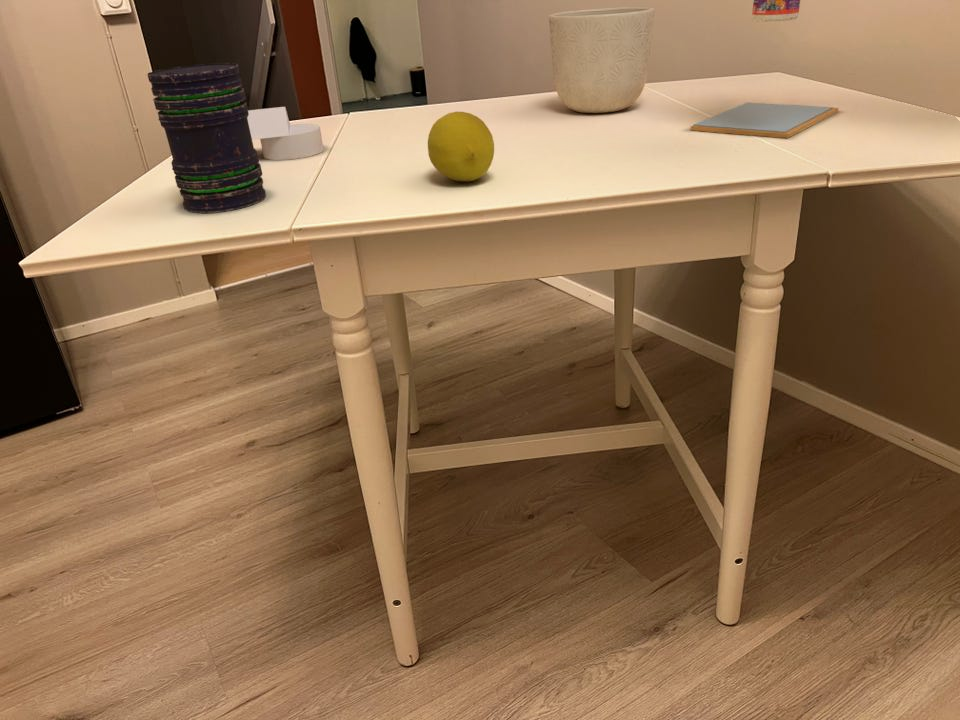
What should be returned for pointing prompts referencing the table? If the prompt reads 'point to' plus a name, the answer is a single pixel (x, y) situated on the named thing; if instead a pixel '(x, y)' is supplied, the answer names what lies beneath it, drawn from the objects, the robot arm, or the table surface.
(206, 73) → the storage jar
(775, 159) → the table surface
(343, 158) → the table surface
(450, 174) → the lemon
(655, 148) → the table surface
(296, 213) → the table surface
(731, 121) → the board
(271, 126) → the wedge on round base
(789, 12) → the pill bottle
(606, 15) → the planter
